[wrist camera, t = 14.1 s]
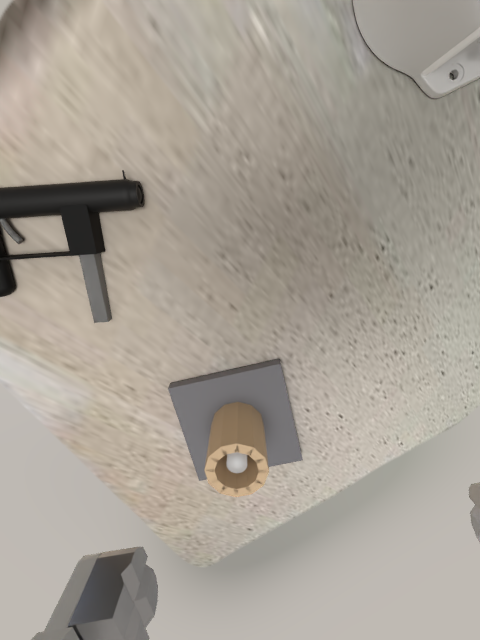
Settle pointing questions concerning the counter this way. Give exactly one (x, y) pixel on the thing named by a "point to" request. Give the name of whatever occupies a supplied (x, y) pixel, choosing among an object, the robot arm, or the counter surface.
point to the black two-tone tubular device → (70, 227)
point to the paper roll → (237, 450)
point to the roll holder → (229, 387)
